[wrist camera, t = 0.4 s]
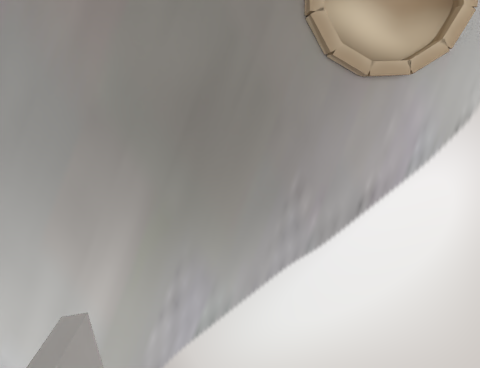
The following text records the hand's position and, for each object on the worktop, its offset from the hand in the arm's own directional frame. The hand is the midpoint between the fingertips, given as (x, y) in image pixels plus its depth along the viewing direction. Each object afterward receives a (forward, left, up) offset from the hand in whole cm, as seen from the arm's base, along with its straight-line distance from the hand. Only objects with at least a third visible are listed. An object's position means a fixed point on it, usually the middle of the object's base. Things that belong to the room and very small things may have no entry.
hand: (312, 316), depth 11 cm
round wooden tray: (-15, +13, -26) cm, 32 cm away
